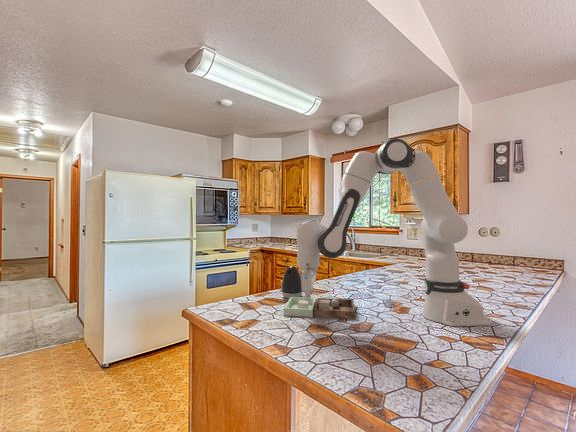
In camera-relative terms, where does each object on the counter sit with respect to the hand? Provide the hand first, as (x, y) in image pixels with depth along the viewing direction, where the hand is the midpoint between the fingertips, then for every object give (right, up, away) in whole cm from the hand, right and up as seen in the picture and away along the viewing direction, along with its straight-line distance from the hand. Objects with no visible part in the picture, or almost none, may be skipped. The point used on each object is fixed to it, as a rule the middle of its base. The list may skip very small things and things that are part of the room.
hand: (309, 297), depth 118 cm
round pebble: (+11, -6, +5) cm, 13 cm away
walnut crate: (+10, -7, +1) cm, 12 cm away
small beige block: (-2, -6, 0) cm, 6 cm away
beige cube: (+6, -6, +1) cm, 8 cm away
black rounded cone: (-7, -7, +22) cm, 24 cm away
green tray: (-3, -7, +3) cm, 8 cm away
